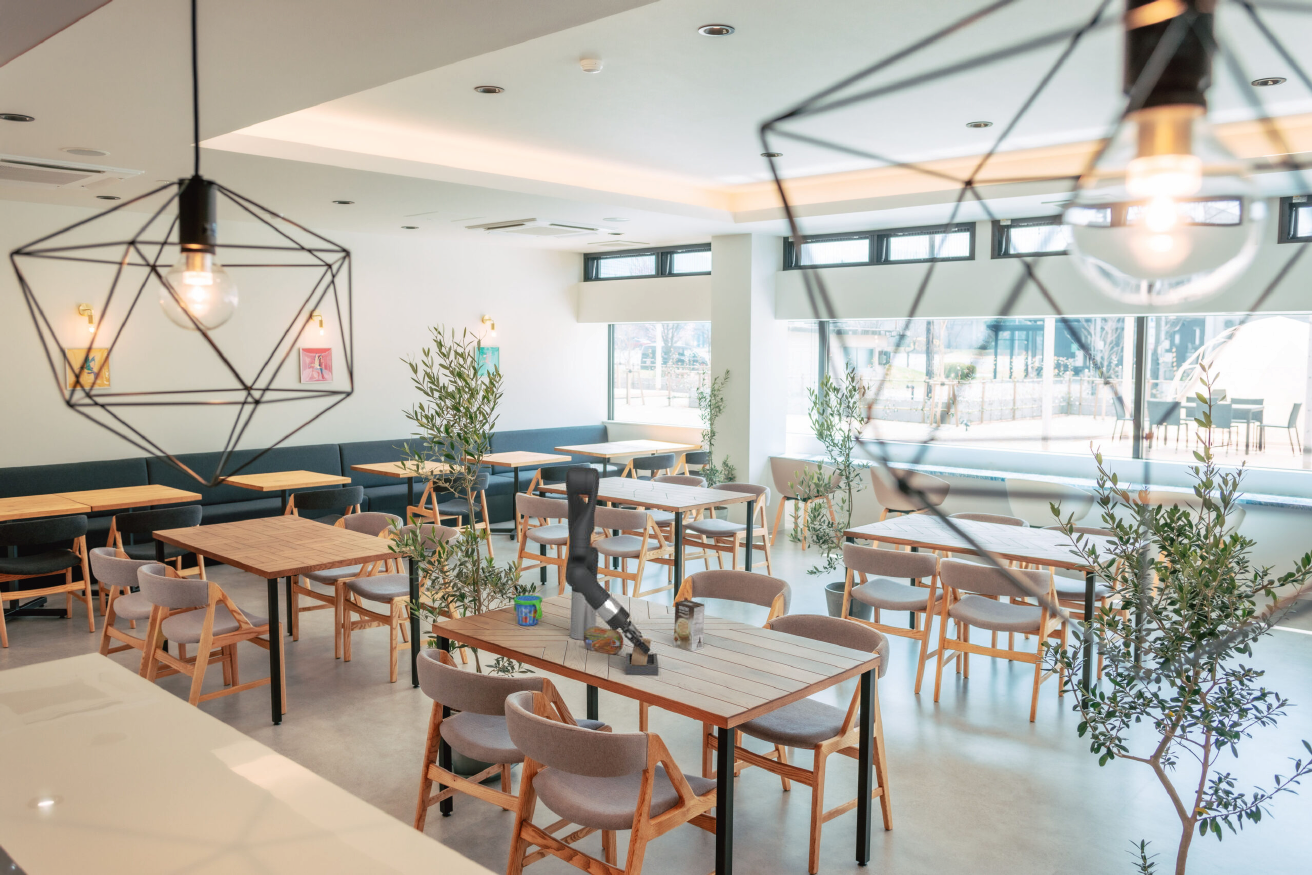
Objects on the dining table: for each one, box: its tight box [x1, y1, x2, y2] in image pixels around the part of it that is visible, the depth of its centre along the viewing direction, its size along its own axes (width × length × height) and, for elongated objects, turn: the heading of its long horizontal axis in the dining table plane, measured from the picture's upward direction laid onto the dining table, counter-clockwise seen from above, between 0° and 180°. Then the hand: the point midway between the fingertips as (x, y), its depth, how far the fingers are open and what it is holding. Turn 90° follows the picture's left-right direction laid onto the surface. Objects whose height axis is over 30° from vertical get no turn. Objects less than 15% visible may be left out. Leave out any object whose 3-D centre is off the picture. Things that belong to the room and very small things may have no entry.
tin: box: [582, 626, 624, 655], centre depth 319 cm, size 15×3×8 cm, turn 62°
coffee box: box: [673, 599, 705, 652], centre depth 328 cm, size 9×6×16 cm
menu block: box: [630, 637, 652, 665], centre depth 301 cm, size 4×5×10 cm
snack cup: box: [513, 594, 543, 627], centre depth 352 cm, size 16×10×10 cm
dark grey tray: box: [625, 652, 659, 677], centre depth 302 cm, size 14×10×3 cm
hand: (648, 649), depth 302 cm, fingers open, 4 cm apart
